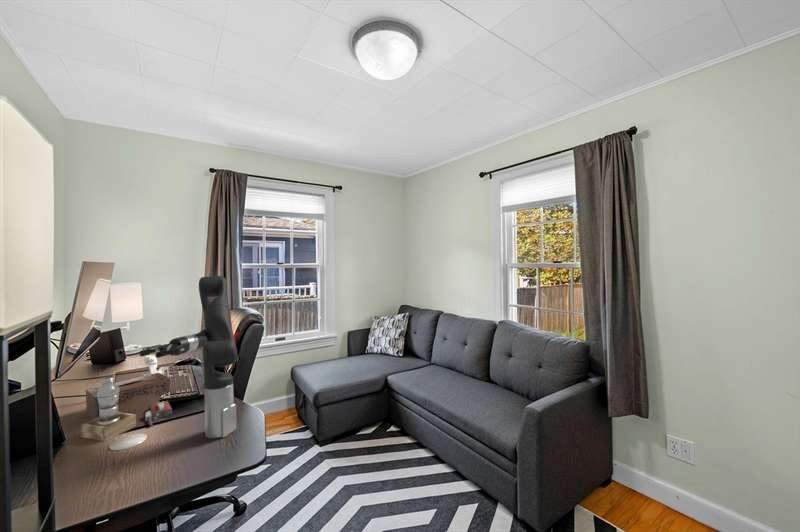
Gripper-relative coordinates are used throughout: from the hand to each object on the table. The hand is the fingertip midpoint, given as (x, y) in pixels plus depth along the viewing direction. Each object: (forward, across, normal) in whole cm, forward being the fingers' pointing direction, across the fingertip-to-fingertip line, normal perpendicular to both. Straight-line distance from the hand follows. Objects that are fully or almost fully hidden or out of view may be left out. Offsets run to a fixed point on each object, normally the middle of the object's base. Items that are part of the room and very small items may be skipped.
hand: (148, 354), depth 133 cm
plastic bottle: (+13, -3, +25) cm, 29 cm away
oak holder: (+13, -3, +25) cm, 28 cm away
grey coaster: (+17, +12, +25) cm, 33 cm away
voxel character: (-26, -32, +26) cm, 48 cm away
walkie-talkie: (-1, +3, +26) cm, 26 cm away
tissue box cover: (-6, -19, +26) cm, 32 cm away
